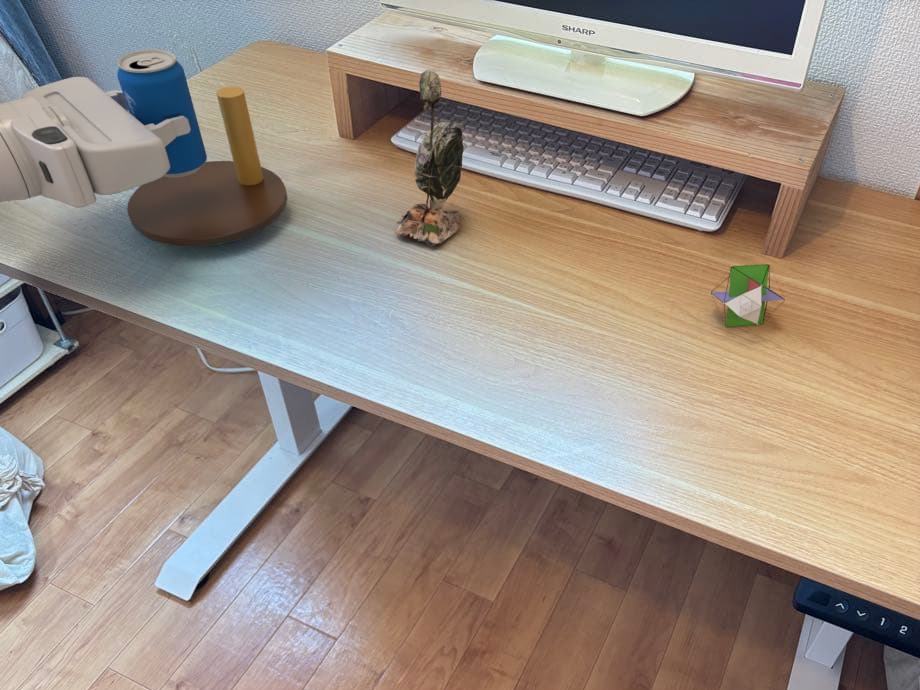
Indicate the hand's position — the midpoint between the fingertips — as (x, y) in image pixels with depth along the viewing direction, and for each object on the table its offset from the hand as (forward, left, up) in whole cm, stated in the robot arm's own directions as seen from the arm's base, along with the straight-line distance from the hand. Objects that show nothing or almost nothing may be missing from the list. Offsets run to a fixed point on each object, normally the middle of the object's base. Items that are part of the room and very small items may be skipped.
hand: (170, 109), depth 86 cm
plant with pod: (+27, -6, -14) cm, 31 cm away
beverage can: (-1, 0, -7) cm, 7 cm away
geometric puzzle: (+57, -31, -14) cm, 66 cm away
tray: (+1, 0, -12) cm, 12 cm away
